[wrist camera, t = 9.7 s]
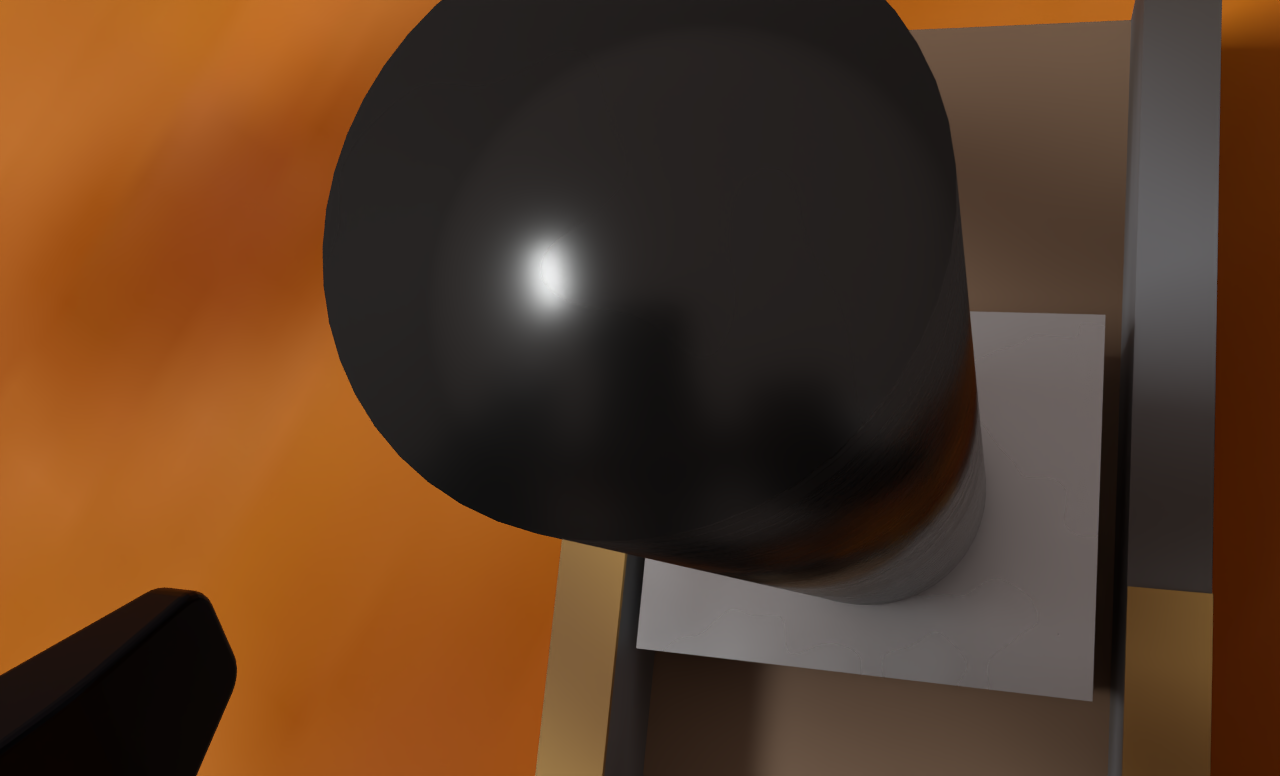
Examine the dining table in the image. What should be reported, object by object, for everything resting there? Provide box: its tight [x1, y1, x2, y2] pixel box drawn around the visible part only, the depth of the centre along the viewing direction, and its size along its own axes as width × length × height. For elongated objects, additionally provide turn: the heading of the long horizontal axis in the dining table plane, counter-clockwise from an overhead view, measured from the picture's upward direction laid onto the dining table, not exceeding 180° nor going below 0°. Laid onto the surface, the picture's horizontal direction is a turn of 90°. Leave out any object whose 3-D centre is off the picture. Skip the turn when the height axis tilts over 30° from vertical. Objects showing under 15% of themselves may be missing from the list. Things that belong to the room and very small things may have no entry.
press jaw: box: [323, 0, 1105, 701], centre depth 12 cm, size 5×6×13 cm
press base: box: [535, 0, 1222, 776], centre depth 17 cm, size 21×9×4 cm, turn 174°
